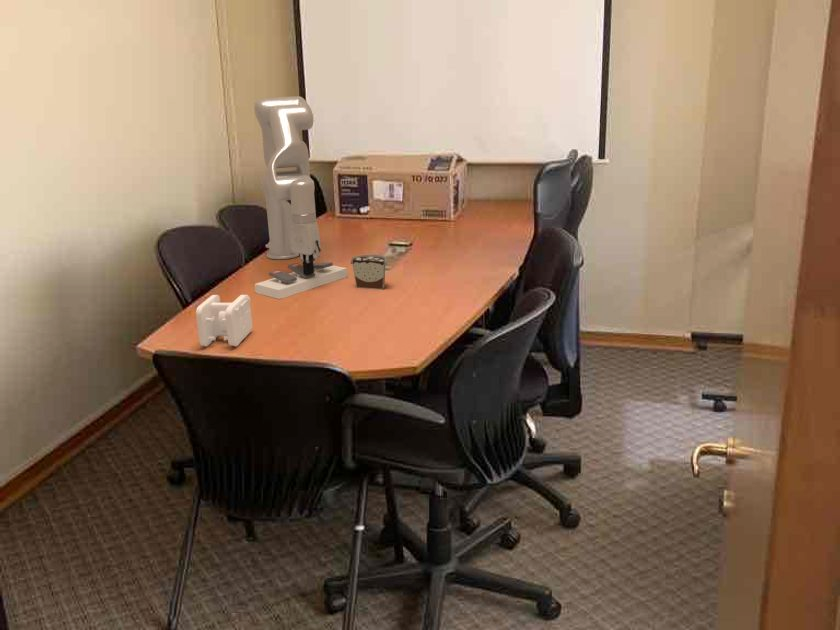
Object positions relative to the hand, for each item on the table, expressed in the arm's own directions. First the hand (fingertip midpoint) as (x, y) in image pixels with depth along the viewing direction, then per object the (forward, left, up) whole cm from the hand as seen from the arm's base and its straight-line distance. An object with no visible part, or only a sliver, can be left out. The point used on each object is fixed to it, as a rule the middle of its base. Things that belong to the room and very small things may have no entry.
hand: (308, 273), depth 286 cm
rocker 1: (-4, -8, 0) cm, 9 cm away
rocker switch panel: (-4, 0, -5) cm, 6 cm away
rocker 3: (-4, +8, 0) cm, 9 cm away
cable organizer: (+19, -48, -5) cm, 52 cm away
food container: (+17, +12, -5) cm, 21 cm away
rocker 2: (-4, 0, 0) cm, 4 cm away
